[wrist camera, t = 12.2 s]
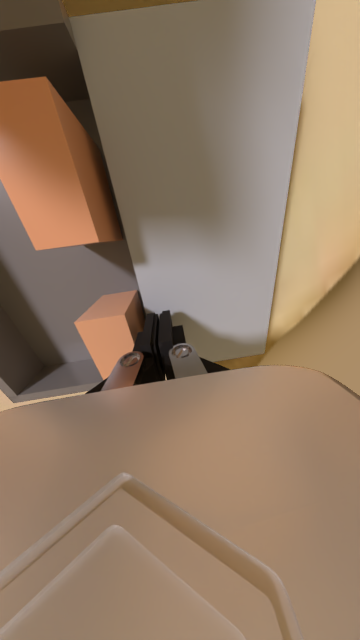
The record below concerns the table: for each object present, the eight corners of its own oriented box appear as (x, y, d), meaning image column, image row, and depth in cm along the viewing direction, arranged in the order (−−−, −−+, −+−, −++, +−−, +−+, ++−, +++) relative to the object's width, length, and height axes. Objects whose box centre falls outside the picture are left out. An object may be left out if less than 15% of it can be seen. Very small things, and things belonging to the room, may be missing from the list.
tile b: (124, 314, 9) (73, 322, 9) (144, 374, 12) (104, 381, 12) (136, 289, 14) (102, 295, 14) (149, 337, 16) (120, 342, 16)
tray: (97, 82, 9) (53, -20, 5) (161, 350, 18) (160, 379, 14) (-141, 115, 9) (-348, 31, 5) (44, 369, 18) (13, 403, 14)
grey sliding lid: (273, 58, 9) (318, -16, 6) (249, 336, 18) (264, 353, 15) (97, 82, 9) (68, 16, 6) (161, 350, 18) (160, 370, 15)
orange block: (45, 76, 5) (-47, 86, 5) (98, 241, 8) (36, 250, 8) (99, 149, 10) (50, 155, 10) (122, 240, 12) (83, 245, 12)
